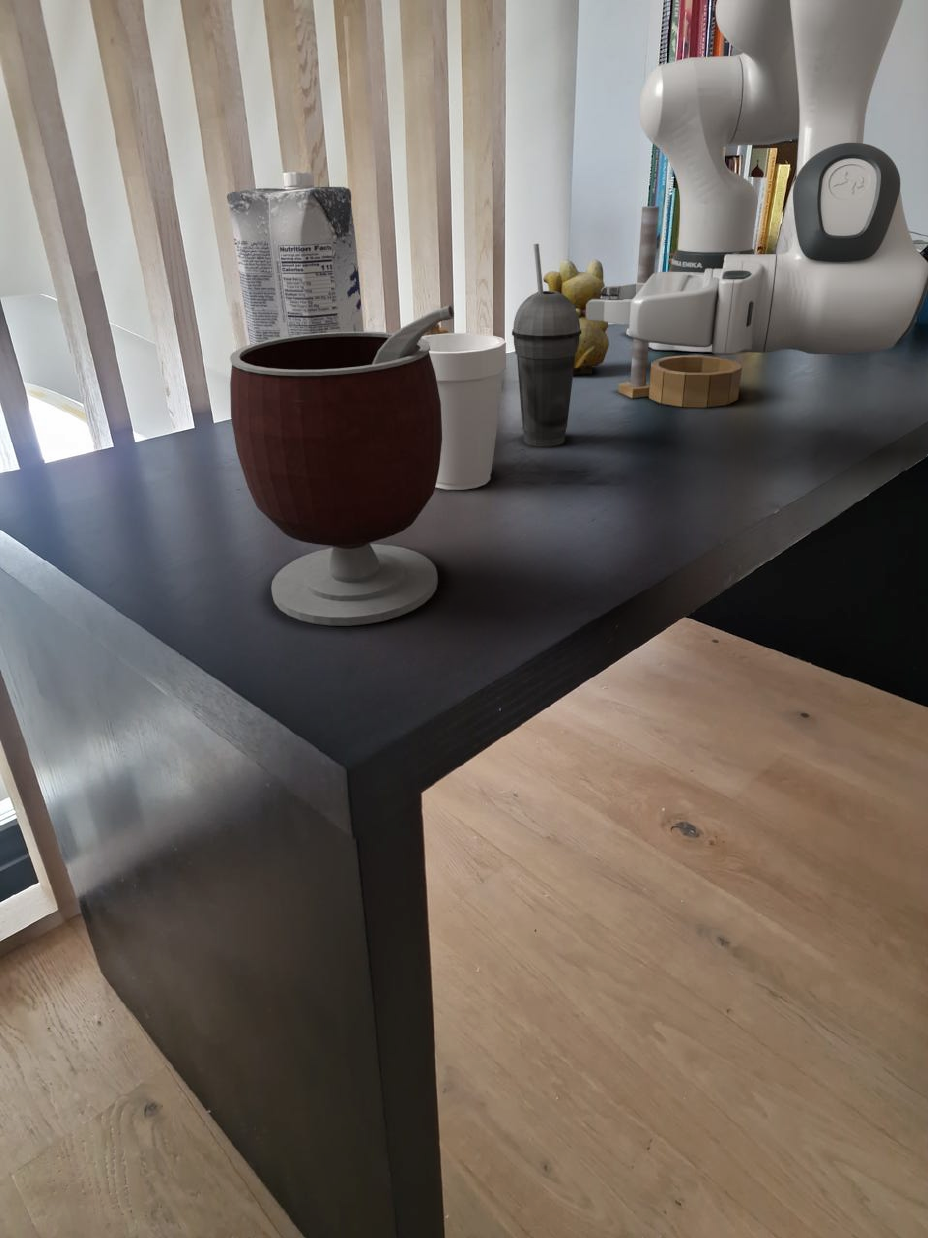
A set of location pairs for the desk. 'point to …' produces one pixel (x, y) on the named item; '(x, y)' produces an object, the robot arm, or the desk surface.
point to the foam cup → (467, 404)
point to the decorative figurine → (583, 310)
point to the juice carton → (296, 259)
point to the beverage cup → (545, 362)
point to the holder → (676, 375)
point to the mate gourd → (342, 463)
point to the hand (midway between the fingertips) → (594, 301)
